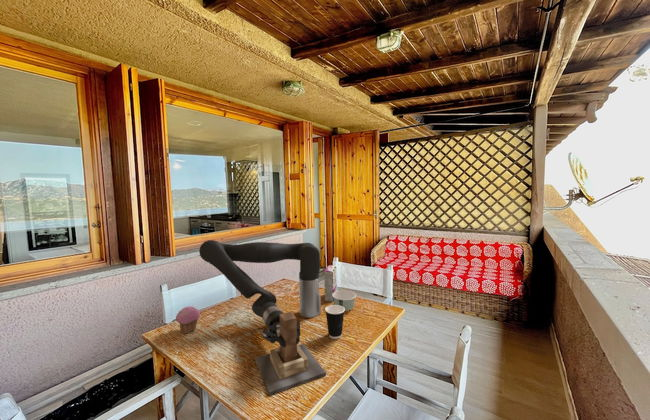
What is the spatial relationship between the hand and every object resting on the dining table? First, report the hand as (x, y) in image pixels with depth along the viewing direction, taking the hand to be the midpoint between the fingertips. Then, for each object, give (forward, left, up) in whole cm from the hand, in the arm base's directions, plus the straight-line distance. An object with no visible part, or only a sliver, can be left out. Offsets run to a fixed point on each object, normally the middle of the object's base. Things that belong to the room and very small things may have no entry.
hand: (291, 342), depth 85 cm
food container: (-40, -34, -10) cm, 53 cm away
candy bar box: (-40, -48, -10) cm, 63 cm away
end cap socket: (0, -3, -10) cm, 10 cm away
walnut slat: (0, -3, -7) cm, 8 cm away
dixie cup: (-23, -13, -10) cm, 28 cm away
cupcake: (+29, -45, -10) cm, 54 cm away
